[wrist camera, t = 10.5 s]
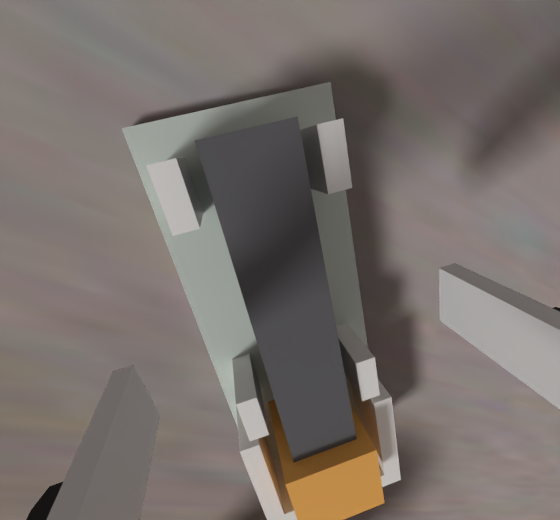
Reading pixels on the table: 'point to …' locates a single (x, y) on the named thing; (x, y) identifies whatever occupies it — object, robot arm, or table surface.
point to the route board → (223, 281)
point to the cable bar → (292, 317)
